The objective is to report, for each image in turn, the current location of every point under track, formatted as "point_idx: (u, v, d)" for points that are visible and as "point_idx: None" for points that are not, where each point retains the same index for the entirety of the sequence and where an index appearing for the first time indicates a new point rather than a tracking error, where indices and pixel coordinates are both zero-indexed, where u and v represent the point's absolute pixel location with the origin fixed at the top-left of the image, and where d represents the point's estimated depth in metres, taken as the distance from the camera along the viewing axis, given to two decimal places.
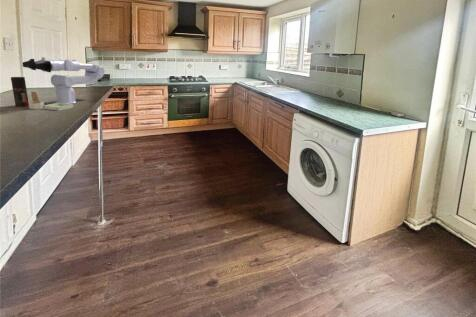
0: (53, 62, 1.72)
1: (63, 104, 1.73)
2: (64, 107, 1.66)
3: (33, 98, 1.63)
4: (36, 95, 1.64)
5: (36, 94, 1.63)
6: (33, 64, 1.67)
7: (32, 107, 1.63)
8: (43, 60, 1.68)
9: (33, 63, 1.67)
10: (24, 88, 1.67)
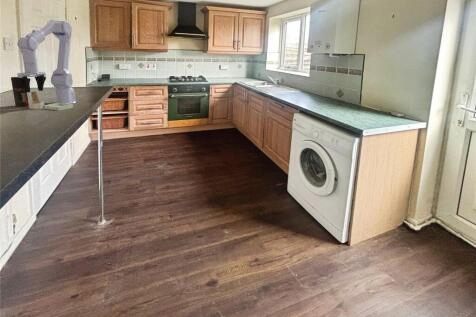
0: None
1: (63, 104, 1.73)
2: (64, 107, 1.66)
3: (33, 98, 1.63)
4: (36, 95, 1.64)
5: (36, 94, 1.63)
6: None
7: (32, 107, 1.63)
8: (36, 74, 1.61)
9: None
10: None
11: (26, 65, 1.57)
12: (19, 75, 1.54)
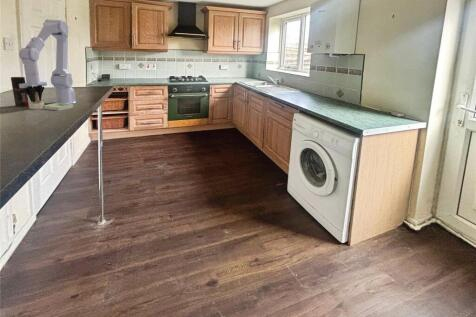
0: (38, 75, 1.63)
1: (63, 104, 1.73)
2: (64, 107, 1.66)
3: None
4: (36, 95, 1.64)
5: (36, 94, 1.63)
6: None
7: (32, 107, 1.63)
8: (37, 84, 1.62)
9: None
10: None
11: (28, 75, 1.59)
12: (21, 86, 1.56)
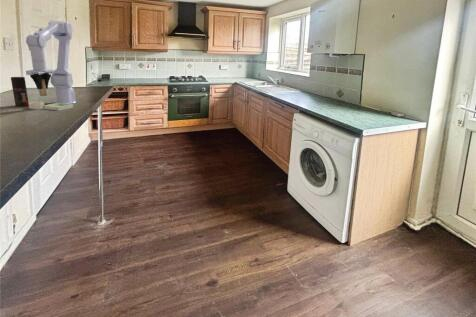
0: None
1: (63, 104, 1.73)
2: (64, 107, 1.66)
3: None
4: (43, 82, 1.62)
5: (43, 81, 1.62)
6: None
7: (32, 107, 1.63)
8: (44, 72, 1.61)
9: None
10: (24, 88, 1.67)
11: (34, 62, 1.58)
12: (27, 72, 1.55)
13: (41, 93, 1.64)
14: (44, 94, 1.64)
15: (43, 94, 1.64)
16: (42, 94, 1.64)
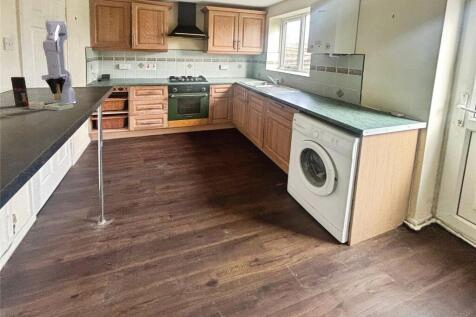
0: (60, 67, 1.64)
1: (63, 104, 1.73)
2: (64, 107, 1.66)
3: None
4: (58, 87, 1.65)
5: (58, 86, 1.65)
6: None
7: (32, 107, 1.63)
8: (59, 76, 1.63)
9: None
10: (24, 88, 1.67)
11: (50, 67, 1.60)
12: (43, 77, 1.57)
13: (56, 97, 1.66)
14: (59, 98, 1.66)
15: (58, 98, 1.66)
16: (57, 98, 1.66)
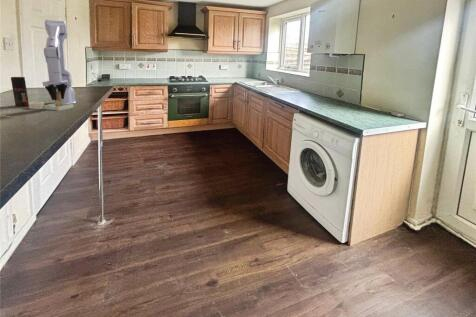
0: (61, 73, 1.65)
1: (63, 104, 1.73)
2: (64, 107, 1.66)
3: (56, 97, 1.66)
4: (59, 95, 1.66)
5: (59, 94, 1.66)
6: None
7: (32, 107, 1.63)
8: (60, 83, 1.64)
9: None
10: (24, 88, 1.67)
11: (51, 74, 1.61)
12: (44, 84, 1.58)
13: (57, 105, 1.67)
14: None
15: (59, 106, 1.67)
16: (58, 106, 1.67)
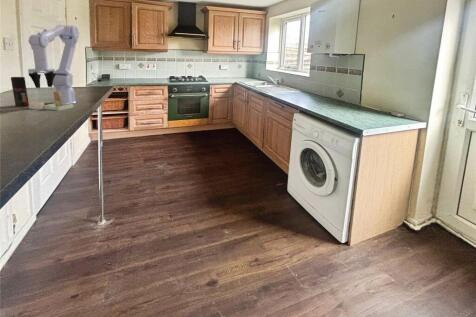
0: None
1: (63, 104, 1.73)
2: (64, 107, 1.66)
3: (56, 98, 1.66)
4: (58, 95, 1.66)
5: (58, 94, 1.66)
6: None
7: (32, 107, 1.63)
8: (46, 70, 1.65)
9: None
10: (24, 88, 1.67)
11: (37, 61, 1.62)
12: (30, 71, 1.59)
13: (57, 105, 1.67)
14: None
15: (59, 106, 1.67)
16: (58, 106, 1.67)
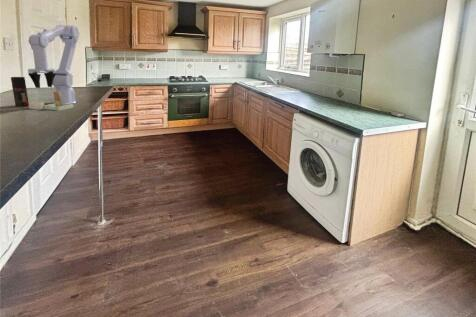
0: None
1: (63, 104, 1.73)
2: (64, 107, 1.66)
3: (56, 98, 1.66)
4: (58, 95, 1.66)
5: (58, 94, 1.66)
6: None
7: (32, 107, 1.63)
8: (46, 70, 1.65)
9: None
10: (24, 88, 1.67)
11: (36, 61, 1.62)
12: (30, 71, 1.59)
13: (57, 105, 1.67)
14: None
15: (59, 106, 1.67)
16: (58, 106, 1.67)
